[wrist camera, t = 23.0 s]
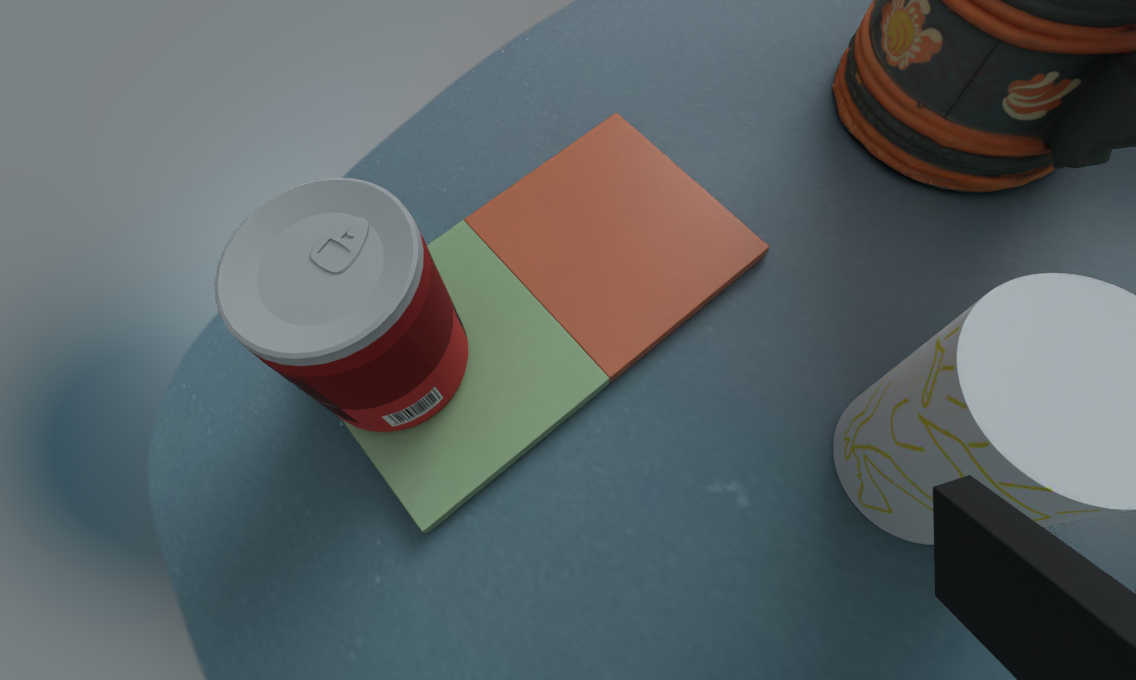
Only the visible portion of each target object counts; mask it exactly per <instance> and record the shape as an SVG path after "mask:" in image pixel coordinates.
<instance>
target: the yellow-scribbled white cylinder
mask: <svg viewBox="0 0 1136 680" xmlns="http://www.w3.org/2000/svg"><path fill="white" fill-rule="evenodd" d="M833 456H834V463H835V467H836V471H837V474H838V477H839V480H840V482H841V484H842V486H843V488H844V490H845V492H846V493H847V495H848V497H849V498H850V500H851V501H852V502H853V504H854V505H855V506H856V507H857V508H858V509H859V511H860V512H861V513H862V514H863V515H864V516H865V517H866V518H868V519H869V520H870V521H871V522H872V523H874V524H875V525H877V526H878V527H879V528H881V529H883V530H884V531H886V532H888V533H890V534H892V535H894V536H896V537H898V538H901V539H904V540H907V541H910V542H914V543H920V544H929V545H934V522H933V487H934V486H937V485H940V484H943V483H946V482H949V481H952V480H955V479H959V478H962V477H965V476H968V475H971V476H972V477H974V478H975V479H976V480H978V481H979V482H980V483H982V484H983V485H985V486H986V487H987V488H989V489H990V490H992V491H993V492H994V493H996V494H997V495H999V496H1000V497H1001V498H1003V499H1004V500H1005V501H1007V502H1008V503H1010V504H1011V505H1012V506H1014V507H1015V508H1017V509H1018V510H1019V511H1021V512H1022V513H1024V514H1025V515H1026V516H1028V517H1029V518H1030V519H1032V520H1033V521H1035V522H1036V523H1037V524H1039V525H1040V526H1042V527H1044V526H1050V525H1056V524H1062V523H1067V522H1073V521H1079V520H1084V519H1090V518H1096V517H1101V516H1107V515H1113V514H1118V513H1124V512H1130V511H1135V510H1136V295H1134V294H1132V293H1130V292H1128V291H1126V290H1124V289H1122V288H1119V287H1117V286H1115V285H1112V284H1109V283H1107V282H1104V281H1101V280H1097V279H1094V278H1090V277H1085V276H1080V275H1074V274H1065V273H1042V274H1033V275H1028V276H1023V277H1019V278H1016V279H1013V280H1010V281H1008V282H1006V283H1004V284H1002V285H1000V286H998V287H996V288H994V289H993V290H992V291H990V292H989V293H987V294H986V295H985V296H984V297H982V298H981V299H980V300H979V301H977V302H976V303H975V304H974V305H972V306H971V307H970V308H969V309H967V310H966V311H965V312H963V313H962V314H961V315H960V316H958V317H957V318H956V319H955V320H953V321H952V322H951V323H950V324H948V325H947V326H946V327H945V328H943V329H942V330H941V331H940V332H938V333H937V334H936V335H935V336H933V337H932V338H931V339H930V340H928V341H927V342H926V343H925V344H923V345H922V346H921V347H919V348H918V349H917V350H916V351H914V352H913V353H912V354H911V355H909V356H908V357H907V358H906V359H904V360H903V361H902V362H901V363H899V364H898V365H897V366H896V367H894V368H893V369H892V370H891V371H889V372H888V373H887V374H886V375H884V376H883V377H882V378H881V379H879V380H878V381H877V382H876V383H874V384H873V385H872V386H870V387H869V388H868V389H867V390H865V391H864V392H863V393H862V394H860V395H859V396H858V397H857V398H855V399H854V400H853V401H852V402H851V403H850V404H849V405H848V406H847V408H846V409H845V410H844V412H843V413H842V415H841V417H840V419H839V421H838V424H837V426H836V430H835V434H834V440H833Z"/></svg>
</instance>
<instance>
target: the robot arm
mask: <svg viewBox="0 0 1136 680" xmlns="http://www.w3.org/2000/svg"><path fill="white" fill-rule="evenodd" d="M933 522H934V563H935V596H936V597H937V598H938V599H939V600H940V601H941V602H942V603H943V604H944V605H945V606H946V607H947V608H948V609H949V610H950V611H951V612H952V613H953V614H954V615H955V616H956V617H957V618H958V620H959V621H960V622H961V623H962V624H963V625H964V626H965V627H966V628H967V629H968V630H969V631H970V632H971V633H972V634H973V635H974V636H975V637H976V638H977V639H978V640H979V641H980V642H981V643H982V644H983V645H984V646H985V647H986V648H987V649H988V650H989V651H990V652H991V653H992V654H993V655H994V656H995V657H996V658H997V659H998V660H999V661H1000V662H1001V663H1002V664H1003V665H1004V666H1005V668H1006V669H1007V670H1008V671H1009V672H1010V673H1011V674H1012V675H1013V676H1014V677H1015V678H1016V679H1017V680H1136V594H1135V593H1133V592H1132V591H1130V590H1129V589H1128V588H1126V587H1125V586H1123V585H1122V584H1121V583H1119V582H1118V581H1117V580H1115V579H1114V578H1112V577H1111V576H1110V575H1108V574H1107V573H1105V572H1104V571H1103V570H1101V569H1100V568H1098V567H1097V566H1096V565H1094V564H1093V563H1092V562H1090V561H1089V560H1087V559H1086V558H1085V557H1083V556H1082V555H1080V554H1079V553H1078V552H1076V551H1075V550H1074V549H1072V548H1071V547H1069V546H1068V545H1067V544H1065V543H1064V542H1062V541H1061V540H1060V539H1058V538H1057V537H1055V536H1054V535H1053V534H1051V533H1050V532H1049V531H1047V530H1046V529H1044V528H1043V527H1042V526H1040V525H1039V524H1037V523H1036V522H1035V521H1033V520H1032V519H1030V518H1029V517H1028V516H1026V515H1025V514H1024V513H1022V512H1021V511H1019V510H1018V509H1017V508H1015V507H1014V506H1012V505H1011V504H1010V503H1008V502H1007V501H1005V500H1004V499H1003V498H1001V497H1000V496H999V495H997V494H996V493H994V492H993V491H992V490H990V489H989V488H987V487H986V486H985V485H983V484H982V483H980V482H979V481H978V480H976V479H975V478H974V477H972V476H971V475H968V476H965V477H962V478H959V479H955V480H952V481H949V482H946V483H943V484H940V485H937V486H934V487H933Z"/></svg>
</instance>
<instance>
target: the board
mask: <svg viewBox="0 0 1136 680" xmlns="http://www.w3.org/2000/svg"><path fill="white" fill-rule="evenodd" d="M427 247H428V249H429V251H430V254H431V256H432V258H433V260H434V262H435V265H436V267H437V269H438V271H439V273H440V276H441V278H442V280H443V282H444V284H445V286H446V289H447V291H448V293H449V295H450V297H451V300H452V302H453V304H454V306H455V308H456V311H457V313H458V315H459V317H460V319H461V322H462V324H463V326H464V328H465V331H466V335H467V340H468V360H467V365H466V370H465V374H464V376H463V379H462V381H461V384H460V386H459V388H458V390H457V391H456V393H455V394H454V396H453V397H452V399H451V400H450V401H449V402H448V403H447V405H446V406H445V407H444V408H443V409H442V410H441V411H439V412H438V413H437V414H436V415H434V416H433V417H432V418H430V419H429V420H427V421H425V422H423V423H421V424H419V425H417V426H414V427H411V428H408V429H404V430H398V431H390V432H376V431H368V430H364V429H361V428H357V427H355V426H353V425H351V424H349V423H348V422H346V421H344V420H343V419H342V421H343V422H344V424H345V425H346V426H347V428H348V429H349V431H350V432H351V433H352V435H353V436H354V438H355V439H356V440H357V442H358V443H359V445H360V446H361V447H362V449H363V450H364V452H365V453H366V454H367V456H368V457H369V459H370V460H371V461H372V463H373V464H374V466H375V467H376V468H377V470H378V471H379V473H380V474H381V475H382V477H383V478H384V480H385V481H386V482H387V484H388V485H389V487H390V488H391V489H392V491H393V492H394V494H395V495H396V496H397V498H398V499H399V501H400V502H401V503H402V505H403V506H404V508H405V509H406V510H407V512H408V513H409V515H410V516H411V517H412V519H413V520H414V522H415V523H416V524H417V526H418V527H419V528H420V530H421V531H422V532H424V533H426V534H428V533H429V532H430V531H432V530H433V529H434V528H435V527H437V526H438V525H439V524H440V523H441V522H443V521H444V520H445V519H446V518H447V517H449V516H450V515H451V514H452V513H454V512H455V511H456V510H457V509H458V508H460V507H461V506H462V505H463V504H464V503H466V502H467V501H468V500H469V499H471V498H472V497H473V496H474V495H475V494H477V493H478V492H479V491H480V490H481V489H483V488H484V487H485V486H486V485H488V484H489V483H490V482H491V481H492V480H494V479H495V478H496V477H497V476H498V475H500V474H501V473H502V472H503V471H505V470H506V469H507V468H508V467H509V466H511V465H512V464H513V463H514V462H515V461H517V460H518V459H519V458H520V457H522V456H523V455H524V454H525V453H526V452H528V451H529V450H530V449H531V448H532V447H534V446H535V445H536V444H537V443H539V442H540V441H541V440H542V439H543V438H545V437H546V436H547V435H548V434H549V433H551V432H552V431H553V430H554V429H556V428H557V427H558V426H559V425H560V424H562V423H563V422H564V421H565V420H566V419H568V418H569V417H570V416H571V415H573V414H574V413H575V412H576V411H577V410H579V409H580V408H581V407H582V406H583V405H585V404H586V403H587V402H588V401H590V400H591V399H592V398H593V397H594V396H596V395H597V394H598V393H599V392H600V391H602V390H603V389H604V388H605V387H607V386H608V385H609V383H611V382H613V381H614V380H615V379H616V378H617V377H619V376H620V375H621V374H622V373H623V372H625V371H626V370H627V369H628V368H630V367H631V366H632V365H633V364H634V363H636V362H637V361H638V360H639V359H640V358H642V357H643V356H644V355H645V354H647V353H648V352H649V351H650V350H651V349H653V348H654V347H655V346H656V345H658V344H659V343H660V342H661V341H662V340H664V339H665V338H666V337H667V336H668V335H670V334H671V333H672V332H673V331H675V330H676V329H677V328H678V327H679V326H681V325H682V324H683V323H684V322H685V321H687V320H688V319H689V318H690V317H692V316H693V315H694V314H695V313H696V312H698V311H699V310H700V309H701V308H702V307H704V306H705V305H706V304H707V303H709V302H710V301H711V300H712V299H713V298H715V297H716V296H717V295H718V294H719V293H721V292H722V291H723V290H724V289H726V288H727V287H728V286H729V285H730V284H732V283H733V282H734V281H735V280H736V279H738V278H739V277H740V276H741V275H743V274H744V273H745V272H746V271H747V270H749V269H750V268H751V267H752V266H753V265H755V264H756V263H757V262H758V261H760V260H761V259H762V258H763V257H764V256H765V255H766V253H767V251H768V249H769V246H768V245H767V244H766V243H765V242H764V241H763V240H761V239H760V238H759V237H758V236H757V235H756V234H755V233H753V232H752V231H751V230H750V229H749V228H748V227H747V226H745V225H744V224H743V223H742V222H741V221H740V220H739V219H737V218H736V217H735V216H734V215H733V214H732V213H731V212H730V211H728V210H727V209H726V208H725V207H724V206H723V205H722V204H720V203H719V202H718V201H717V200H716V199H715V198H714V197H712V196H711V195H710V194H709V193H708V192H707V191H706V190H704V189H703V188H702V187H701V186H700V185H699V184H698V183H696V182H695V181H694V180H693V179H692V178H691V177H690V176H688V175H687V174H686V173H685V172H684V171H683V170H682V169H681V168H679V167H678V166H677V165H676V164H675V163H674V162H673V161H671V160H670V159H669V158H668V157H667V156H666V155H665V154H663V153H662V152H661V151H660V150H659V149H658V148H657V147H655V146H654V145H653V144H652V143H651V142H650V141H649V140H647V139H646V138H645V137H644V136H643V135H642V134H641V133H639V132H638V131H637V130H636V129H635V128H634V127H633V126H632V125H630V124H629V123H628V122H627V121H626V120H625V119H624V118H622V117H621V116H620V115H619V114H618V113H615V114H614V115H612V116H611V117H609V118H608V119H606V120H605V121H604V122H602V123H601V124H599V125H598V126H596V127H595V128H594V129H592V130H591V131H589V132H588V133H587V134H585V135H584V136H582V137H581V138H579V139H578V140H577V141H575V142H574V143H572V144H571V145H569V146H568V147H567V148H565V149H564V150H562V151H561V152H559V153H558V154H557V155H555V156H554V157H552V158H551V159H549V160H548V161H547V162H545V163H544V164H542V165H541V166H539V167H538V168H537V169H535V170H534V171H532V172H531V173H530V174H528V175H527V176H525V177H524V178H522V179H521V180H520V181H518V182H517V183H515V184H514V185H512V186H511V187H510V188H508V189H507V190H505V191H504V192H502V193H501V194H500V195H498V196H497V197H495V198H494V199H492V200H491V201H490V202H488V203H487V204H485V205H484V206H482V207H481V208H480V209H478V210H477V211H475V212H474V213H472V214H471V215H470V216H468V217H467V218H465V219H464V220H462V221H461V222H460V223H458V224H457V225H455V226H454V227H452V228H451V229H450V230H448V231H447V232H445V233H444V234H442V235H441V236H440V237H438V238H437V239H435V240H434V241H432V242H431V243H430V244H428V245H427Z"/></svg>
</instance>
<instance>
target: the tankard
mask: <svg viewBox="0 0 1136 680" xmlns="http://www.w3.org/2000/svg"><path fill="white" fill-rule="evenodd" d="M832 88H833V91H834V93H835V95H834V96H835V98H836V104H837V107H838V111H839V114H838V115H839V117H840V119H841V121H842V124H843V125H844V127H845V128H847V130H848V131H849V133H850V134H851V135H852V134H853V135H854V136H855V138H856V139H857V140H859V141H860V142H861V143H862V144H863V145H864V146H865V148H866V149H867V150H868V151H869V152H870V153H871V154H873V155H874V156H875V157H876V158H877V159H879V160H881V161H882V162H884V163H885V164H887V165H888V166H889V167H891V168H892V169H894V170H896V171H898V172H899V173H901V174H902V175H905V176H906V177H909V178H911V179H913V180H915V181H918V182H920V183H923V184H926V185H930V186H933V187H936V188H939V189H944V190H950V191H956V192H968V193H980V192H991V191H1000V190H1006V189H1010V188H1011V189H1012V188H1015V187H1017V186H1022V185H1025V184H1027V183H1029V182H1031V181H1033V180H1036V179H1038V178H1041V177H1043V176H1045V175H1047V174H1048V173H1050V172H1052V171H1053V170H1055V169H1056V168H1063V167H1071V168H1079V167H1085V166H1092V165H1098V164H1102V163H1105V162H1107V161H1109V159H1110V155H1111V151H1112V149H1117V148H1125V147H1134V146H1136V0H873V2H872V3H871V5H870V7H869V8H868V10H867V12H866V14H865V16H864V18H863V20H862V22H861V24H860V26H859V28H858V29H857V31H856V33H855V34H854V35H853V37H852V38H851V40H850V43H849V47H848V48H847V49H846V51H845V53H844V55H843V56H842V58H841V61H840V63H839V68H838V70H837V72H836V74H835V82H834V83H833V84H832Z"/></svg>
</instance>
